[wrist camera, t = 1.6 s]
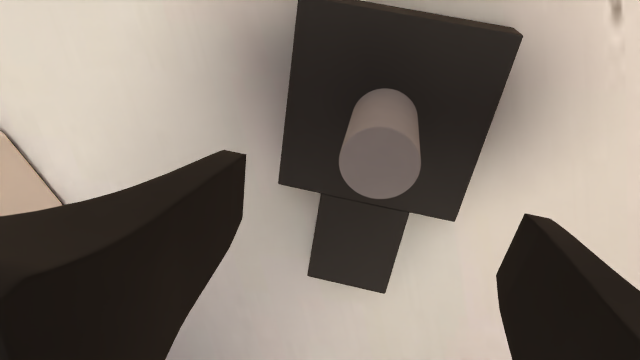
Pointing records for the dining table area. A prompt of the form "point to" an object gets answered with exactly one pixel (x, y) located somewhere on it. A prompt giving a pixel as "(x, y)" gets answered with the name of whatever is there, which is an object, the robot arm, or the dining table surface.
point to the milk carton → (21, 183)
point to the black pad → (445, 133)
